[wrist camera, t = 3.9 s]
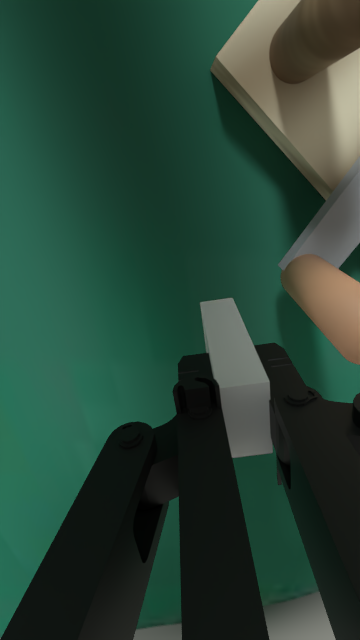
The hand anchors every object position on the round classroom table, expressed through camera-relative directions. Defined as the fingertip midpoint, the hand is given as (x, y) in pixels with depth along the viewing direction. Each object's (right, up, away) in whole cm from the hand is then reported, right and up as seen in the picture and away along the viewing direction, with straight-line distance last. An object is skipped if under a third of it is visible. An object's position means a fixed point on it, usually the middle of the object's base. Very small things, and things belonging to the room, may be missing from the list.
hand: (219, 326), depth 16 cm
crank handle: (+6, +5, +2) cm, 9 cm away
